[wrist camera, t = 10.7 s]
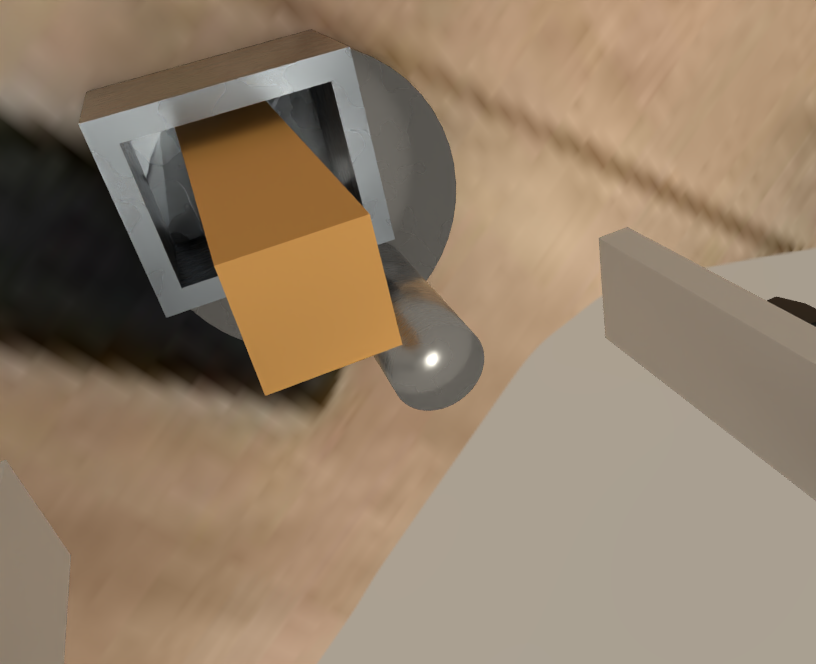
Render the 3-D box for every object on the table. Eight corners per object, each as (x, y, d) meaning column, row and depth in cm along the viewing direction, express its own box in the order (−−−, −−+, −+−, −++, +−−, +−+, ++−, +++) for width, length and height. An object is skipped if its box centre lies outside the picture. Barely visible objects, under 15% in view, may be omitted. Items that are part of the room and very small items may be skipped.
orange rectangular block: (207, 211, 32) (265, 395, 19) (174, 125, 30) (213, 266, 17) (290, 185, 33) (402, 344, 20) (264, 99, 31) (369, 213, 18)
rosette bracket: (210, 374, 38) (237, 510, 29) (86, 91, 30) (70, 155, 21) (465, 281, 41) (564, 379, 32) (414, 0, 33) (526, 22, 24)
